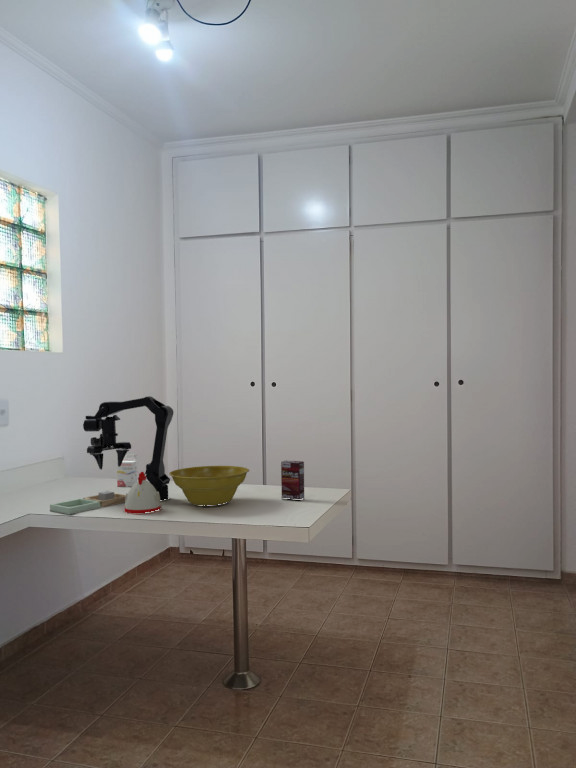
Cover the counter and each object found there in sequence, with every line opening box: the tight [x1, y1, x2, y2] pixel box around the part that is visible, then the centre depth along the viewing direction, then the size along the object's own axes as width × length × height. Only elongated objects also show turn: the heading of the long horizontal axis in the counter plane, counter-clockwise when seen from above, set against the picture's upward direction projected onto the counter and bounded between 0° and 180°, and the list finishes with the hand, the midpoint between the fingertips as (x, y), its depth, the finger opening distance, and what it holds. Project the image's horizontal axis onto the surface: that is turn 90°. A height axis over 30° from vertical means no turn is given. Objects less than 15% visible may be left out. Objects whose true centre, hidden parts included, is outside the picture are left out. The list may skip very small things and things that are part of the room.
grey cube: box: [97, 490, 115, 501], centre depth 274 cm, size 4×4×4 cm
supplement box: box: [280, 459, 305, 499], centre depth 273 cm, size 9×5×16 cm, turn 62°
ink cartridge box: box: [116, 453, 138, 487], centre depth 314 cm, size 9×5×15 cm, turn 84°
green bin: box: [49, 498, 101, 516], centre depth 262 cm, size 13×14×2 cm
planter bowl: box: [168, 465, 250, 506], centre depth 268 cm, size 32×32×13 cm
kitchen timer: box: [124, 471, 162, 514], centre depth 258 cm, size 14×14×15 cm
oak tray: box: [82, 492, 126, 508], centre depth 274 cm, size 13×14×2 cm
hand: (110, 467), depth 281 cm, fingers open, 9 cm apart
